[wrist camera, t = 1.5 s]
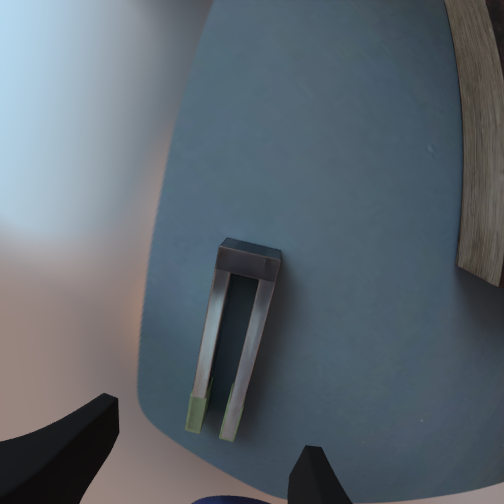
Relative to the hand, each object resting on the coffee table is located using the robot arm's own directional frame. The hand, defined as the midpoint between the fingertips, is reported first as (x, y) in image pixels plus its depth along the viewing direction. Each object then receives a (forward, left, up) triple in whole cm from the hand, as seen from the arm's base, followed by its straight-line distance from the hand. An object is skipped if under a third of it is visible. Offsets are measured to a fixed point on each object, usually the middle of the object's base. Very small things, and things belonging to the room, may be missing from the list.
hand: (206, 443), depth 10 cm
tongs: (0, 0, -9) cm, 9 cm away
